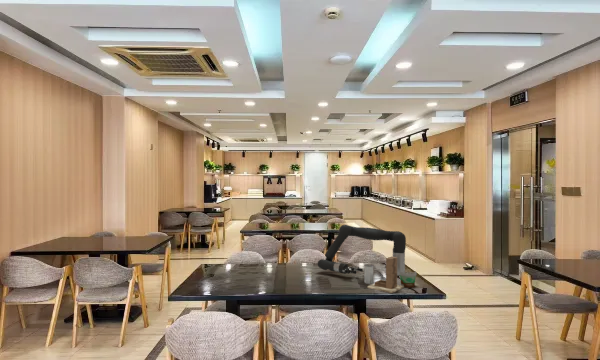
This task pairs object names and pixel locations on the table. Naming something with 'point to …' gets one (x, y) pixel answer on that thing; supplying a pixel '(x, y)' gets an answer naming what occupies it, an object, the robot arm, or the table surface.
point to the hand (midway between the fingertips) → (359, 271)
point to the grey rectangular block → (368, 273)
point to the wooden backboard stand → (388, 278)
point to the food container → (407, 279)
